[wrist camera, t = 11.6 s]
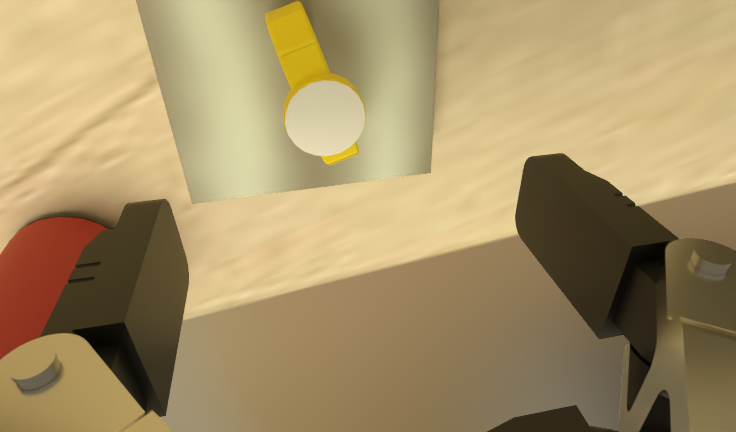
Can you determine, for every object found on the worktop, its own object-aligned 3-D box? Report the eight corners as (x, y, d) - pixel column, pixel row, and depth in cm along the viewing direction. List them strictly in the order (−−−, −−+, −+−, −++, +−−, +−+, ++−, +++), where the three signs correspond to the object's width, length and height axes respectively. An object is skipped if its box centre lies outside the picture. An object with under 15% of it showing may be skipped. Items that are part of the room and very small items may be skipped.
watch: (356, 110, 22) (390, 177, 18) (302, 132, 23) (321, 205, 18) (309, -21, 19) (336, 22, 14) (244, 6, 19) (249, 57, 14)
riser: (414, -104, 21) (444, -105, 18) (409, 141, 28) (430, 172, 25) (133, -94, 20) (110, -93, 16) (199, 166, 26) (192, 203, 23)
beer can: (108, 314, 30) (42, 511, 21) (-9, 274, 27) (-153, 484, 17) (159, 243, 28) (112, 423, 19) (38, 191, 25) (-94, 375, 15)
